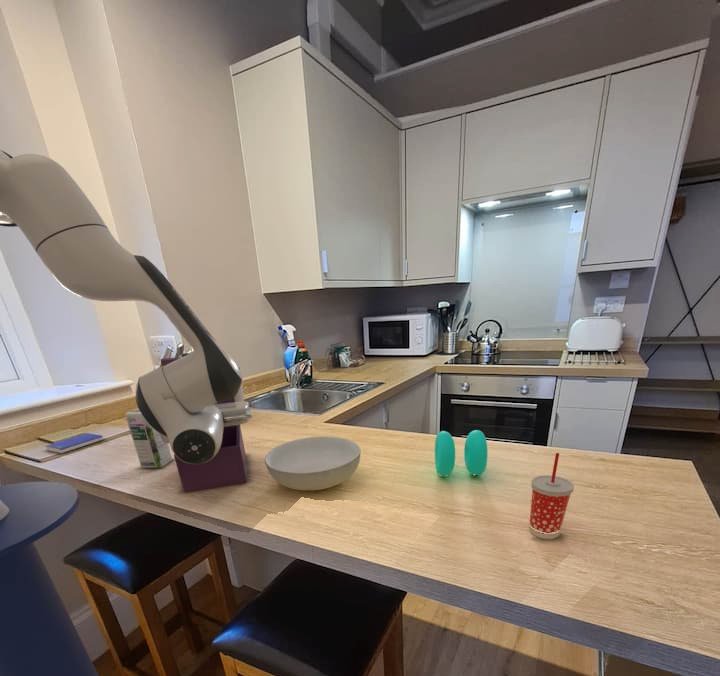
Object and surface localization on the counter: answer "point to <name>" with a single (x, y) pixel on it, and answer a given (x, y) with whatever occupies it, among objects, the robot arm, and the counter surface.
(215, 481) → the box
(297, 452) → the serving bowl
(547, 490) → the beverage cup
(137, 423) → the syrup box
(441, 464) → the pair of teal ovoids
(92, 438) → the hard drive
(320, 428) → the counter surface
